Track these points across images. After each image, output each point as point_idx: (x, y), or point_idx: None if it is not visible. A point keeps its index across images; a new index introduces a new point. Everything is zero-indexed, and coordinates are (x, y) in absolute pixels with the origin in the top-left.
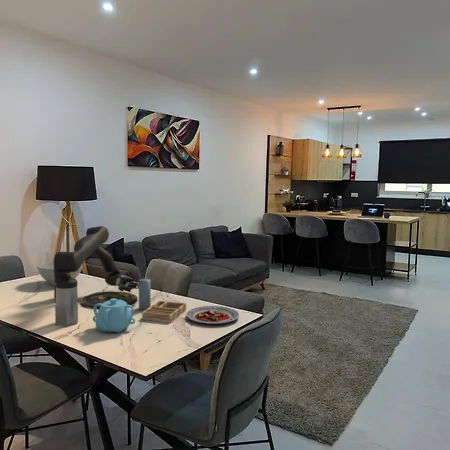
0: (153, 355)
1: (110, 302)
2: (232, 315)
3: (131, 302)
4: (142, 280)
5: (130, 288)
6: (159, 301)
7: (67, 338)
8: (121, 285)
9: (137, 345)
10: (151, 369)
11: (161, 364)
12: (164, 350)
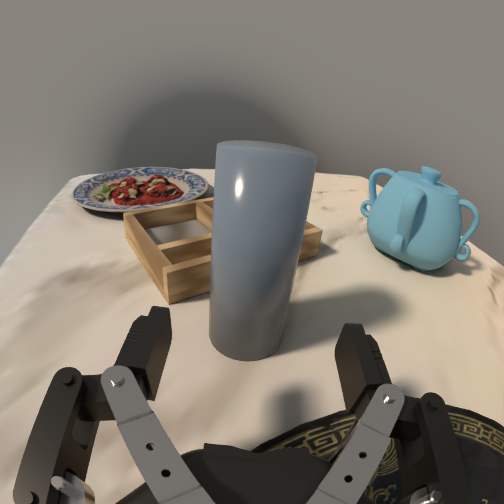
0: (343, 183)
1: (439, 187)
2: (114, 178)
3: (291, 429)
4: (289, 150)
5: (347, 323)
6: (177, 265)
7: (487, 261)
8: (440, 453)
9: (361, 199)
10: (353, 177)
11: (339, 175)
12: (324, 182)
